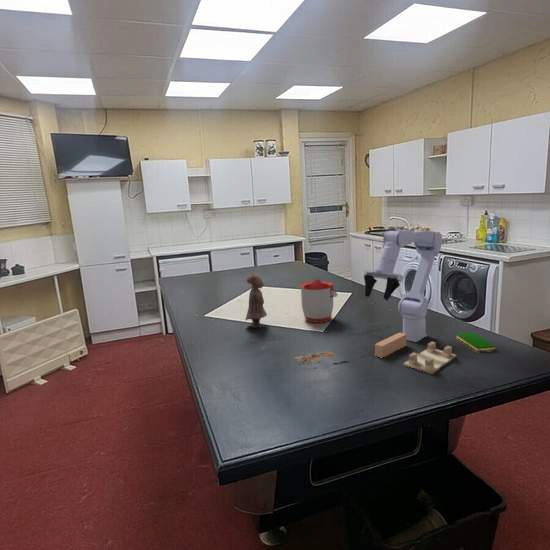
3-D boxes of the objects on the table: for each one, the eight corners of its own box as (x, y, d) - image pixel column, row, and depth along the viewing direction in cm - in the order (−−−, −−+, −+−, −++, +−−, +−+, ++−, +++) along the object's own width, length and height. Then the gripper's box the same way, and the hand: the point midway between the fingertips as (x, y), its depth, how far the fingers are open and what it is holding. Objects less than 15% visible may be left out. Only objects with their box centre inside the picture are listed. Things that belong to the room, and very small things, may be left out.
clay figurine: (268, 329, 175) (265, 276, 170) (246, 332, 174) (242, 277, 169) (265, 320, 188) (262, 270, 183) (245, 322, 187) (241, 272, 181)
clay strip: (399, 344, 152) (399, 332, 151) (406, 346, 150) (406, 334, 149) (374, 356, 142) (374, 344, 141) (381, 359, 140) (381, 346, 139)
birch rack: (429, 349, 145) (429, 339, 144) (456, 357, 138) (456, 346, 137) (403, 365, 134) (403, 354, 133) (431, 374, 126) (431, 363, 125)
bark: (334, 349, 150) (334, 348, 150) (350, 361, 140) (350, 359, 139) (282, 361, 143) (282, 360, 143) (294, 374, 132) (294, 373, 132)
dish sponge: (476, 353, 141) (477, 347, 141) (456, 339, 155) (456, 333, 154) (495, 351, 142) (495, 345, 141) (473, 338, 155) (473, 332, 155)
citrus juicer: (334, 325, 176) (333, 283, 171) (297, 323, 181) (296, 282, 177) (340, 315, 190) (339, 275, 186) (306, 313, 196) (304, 274, 192)
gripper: (364, 256, 141) (353, 290, 139) (400, 259, 130) (388, 297, 128) (374, 263, 145) (363, 297, 143) (409, 267, 135) (398, 303, 132)
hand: (376, 297), depth 136 cm, fingers open, 7 cm apart
